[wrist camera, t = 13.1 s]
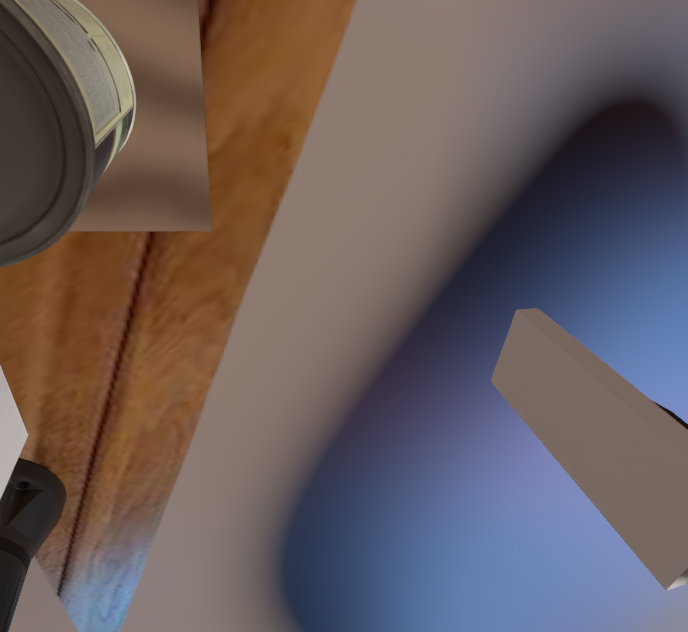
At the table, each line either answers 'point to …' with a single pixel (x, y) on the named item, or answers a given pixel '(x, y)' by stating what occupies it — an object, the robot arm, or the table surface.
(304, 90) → the table surface
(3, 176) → the coffee can
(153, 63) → the stool
